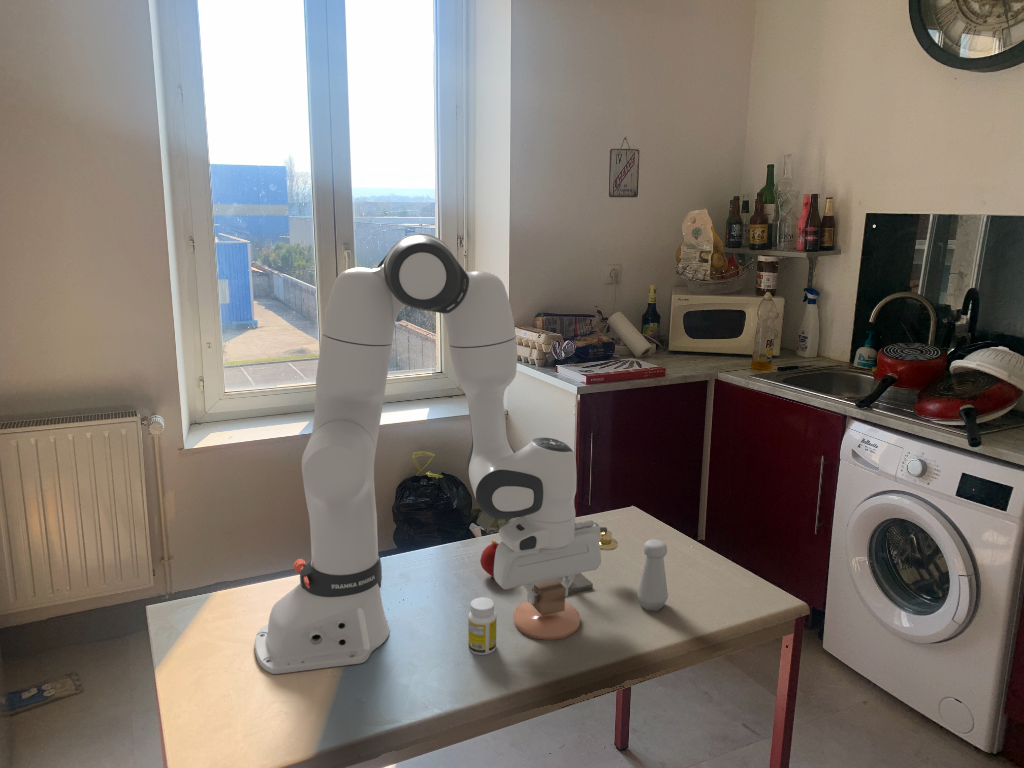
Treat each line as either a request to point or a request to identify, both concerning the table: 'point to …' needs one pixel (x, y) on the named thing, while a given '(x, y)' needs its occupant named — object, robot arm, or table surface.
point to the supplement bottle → (482, 626)
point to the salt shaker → (653, 577)
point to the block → (549, 597)
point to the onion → (489, 558)
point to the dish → (546, 622)
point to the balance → (580, 580)
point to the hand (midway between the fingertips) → (547, 599)
